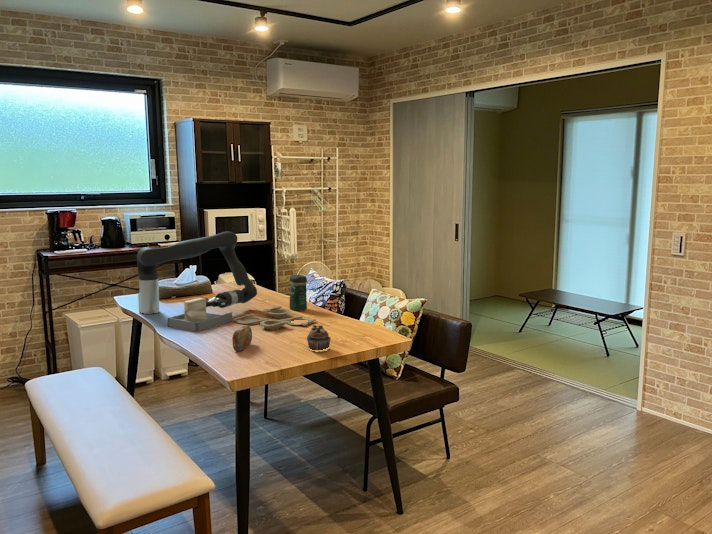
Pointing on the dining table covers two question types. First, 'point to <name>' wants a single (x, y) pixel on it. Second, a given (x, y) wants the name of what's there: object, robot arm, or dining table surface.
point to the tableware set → (272, 324)
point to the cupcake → (318, 338)
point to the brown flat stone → (242, 338)
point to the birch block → (195, 310)
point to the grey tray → (201, 325)
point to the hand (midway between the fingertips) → (202, 305)
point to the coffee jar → (298, 292)
